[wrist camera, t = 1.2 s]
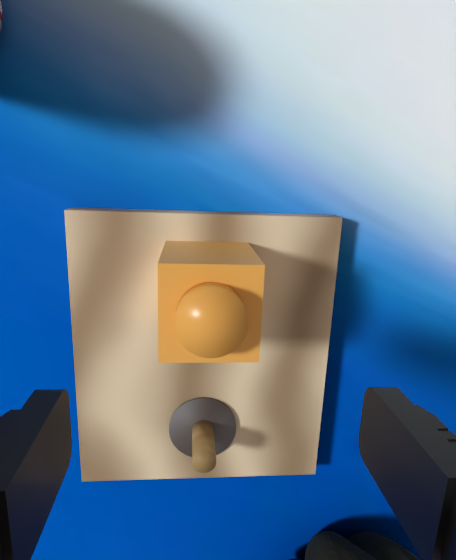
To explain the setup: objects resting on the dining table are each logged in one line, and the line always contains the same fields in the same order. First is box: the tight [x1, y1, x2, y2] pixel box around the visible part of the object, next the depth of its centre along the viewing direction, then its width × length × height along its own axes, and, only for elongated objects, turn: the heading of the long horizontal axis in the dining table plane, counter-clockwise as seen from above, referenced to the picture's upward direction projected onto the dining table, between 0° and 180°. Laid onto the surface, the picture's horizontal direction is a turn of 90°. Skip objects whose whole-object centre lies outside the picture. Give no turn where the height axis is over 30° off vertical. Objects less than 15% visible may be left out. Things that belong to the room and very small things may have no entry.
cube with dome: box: [158, 241, 265, 363], centre depth 21 cm, size 5×5×7 cm
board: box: [64, 208, 342, 481], centre depth 25 cm, size 16×18×5 cm
